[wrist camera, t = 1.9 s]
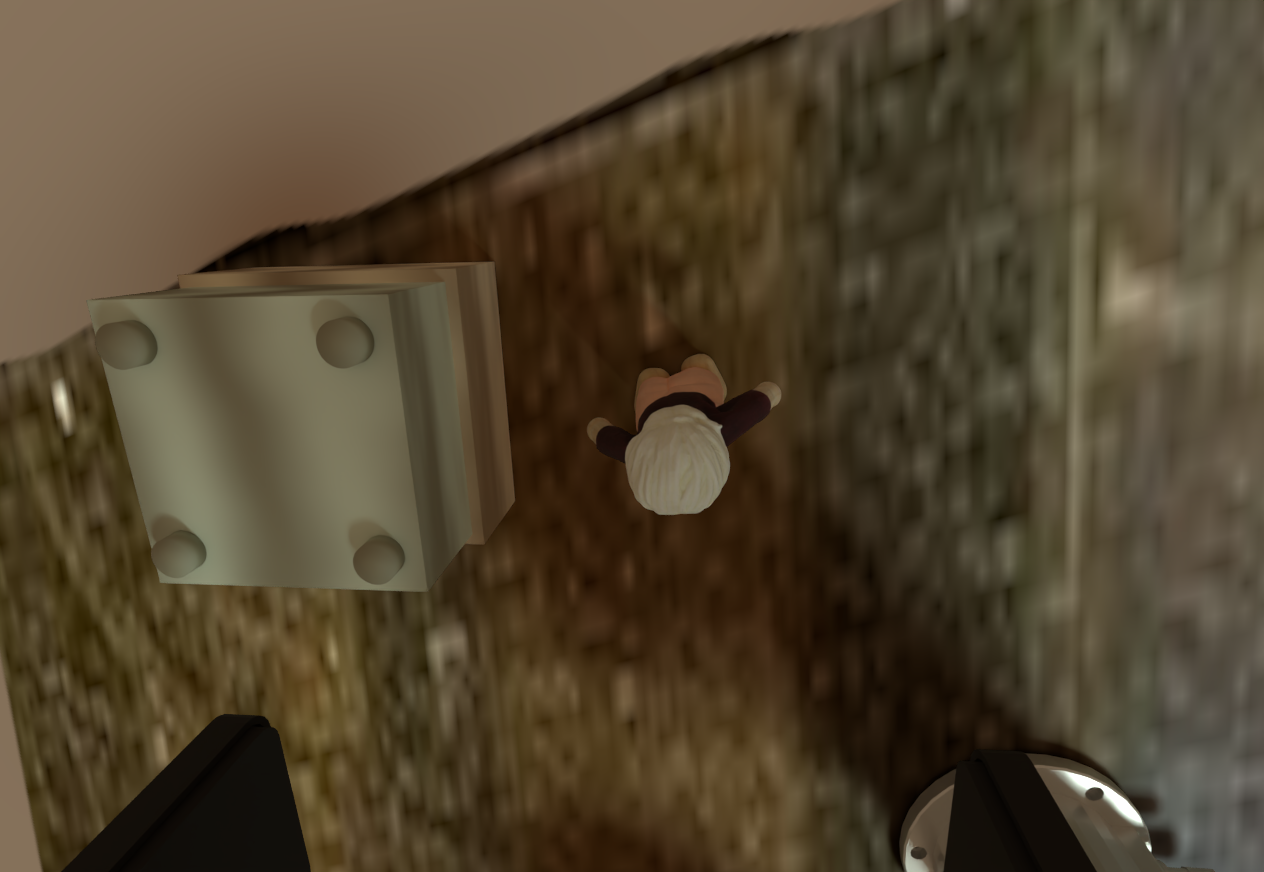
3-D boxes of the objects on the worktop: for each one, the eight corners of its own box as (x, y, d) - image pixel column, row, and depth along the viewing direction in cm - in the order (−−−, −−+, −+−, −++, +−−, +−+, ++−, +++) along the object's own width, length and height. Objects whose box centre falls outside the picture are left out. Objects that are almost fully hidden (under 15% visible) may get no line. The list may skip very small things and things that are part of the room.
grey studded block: (494, 261, 32) (389, 280, 21) (515, 501, 35) (433, 615, 25) (254, 267, 33) (48, 287, 23) (297, 497, 37) (135, 604, 26)
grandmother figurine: (635, 453, 34) (591, 582, 22) (600, 384, 33) (534, 478, 21) (781, 389, 32) (822, 491, 20) (748, 315, 31) (770, 374, 19)
